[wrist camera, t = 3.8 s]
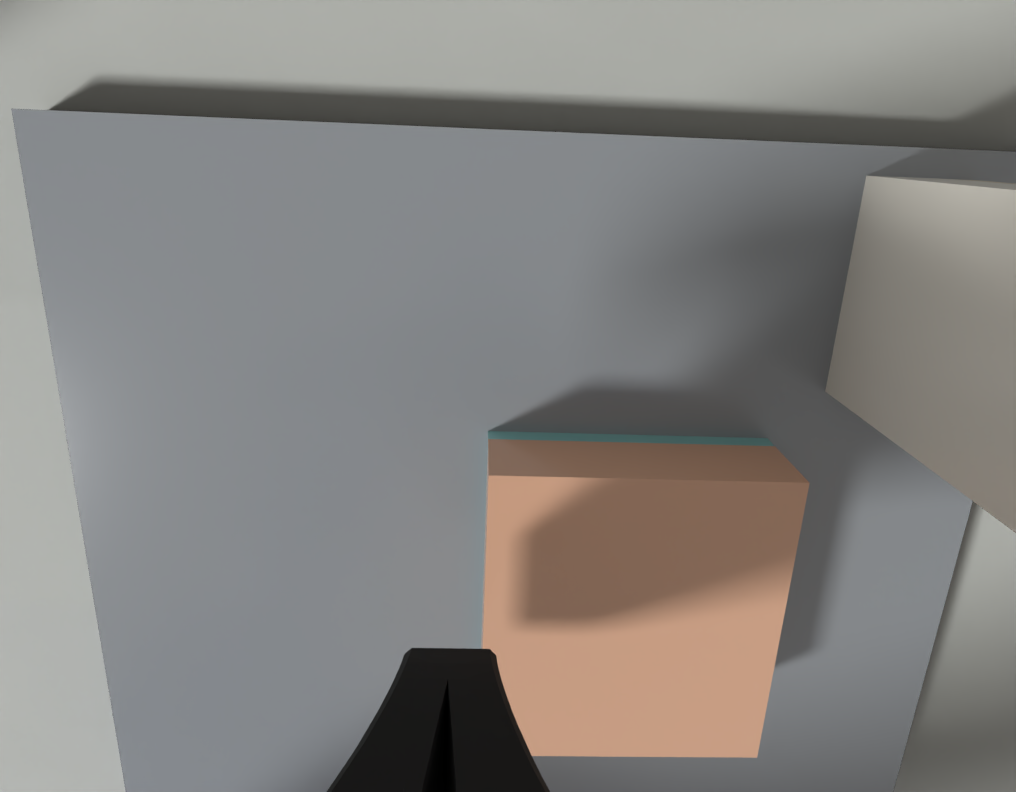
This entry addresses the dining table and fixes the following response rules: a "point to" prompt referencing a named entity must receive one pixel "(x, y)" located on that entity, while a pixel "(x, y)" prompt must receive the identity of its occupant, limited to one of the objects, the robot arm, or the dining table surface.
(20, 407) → the dining table surface
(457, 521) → the slate board
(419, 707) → the robot arm
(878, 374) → the cream tile
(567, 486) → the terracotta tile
